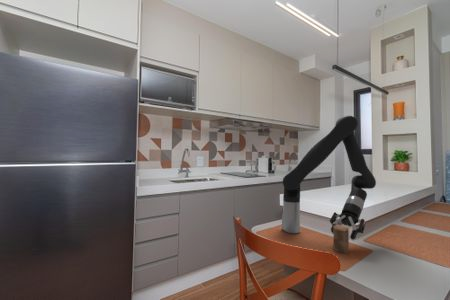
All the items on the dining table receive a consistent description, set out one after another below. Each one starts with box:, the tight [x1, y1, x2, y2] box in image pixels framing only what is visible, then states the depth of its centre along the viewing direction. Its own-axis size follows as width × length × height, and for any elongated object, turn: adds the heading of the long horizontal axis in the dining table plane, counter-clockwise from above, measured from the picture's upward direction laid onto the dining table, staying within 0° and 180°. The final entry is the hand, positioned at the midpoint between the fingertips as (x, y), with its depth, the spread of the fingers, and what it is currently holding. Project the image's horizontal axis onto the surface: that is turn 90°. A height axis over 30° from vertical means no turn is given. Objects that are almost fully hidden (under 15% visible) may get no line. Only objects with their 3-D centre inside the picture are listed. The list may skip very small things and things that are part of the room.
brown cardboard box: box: [333, 225, 350, 255], centre depth 95 cm, size 5×4×11 cm
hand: (341, 235), depth 95 cm, fingers open, 8 cm apart
